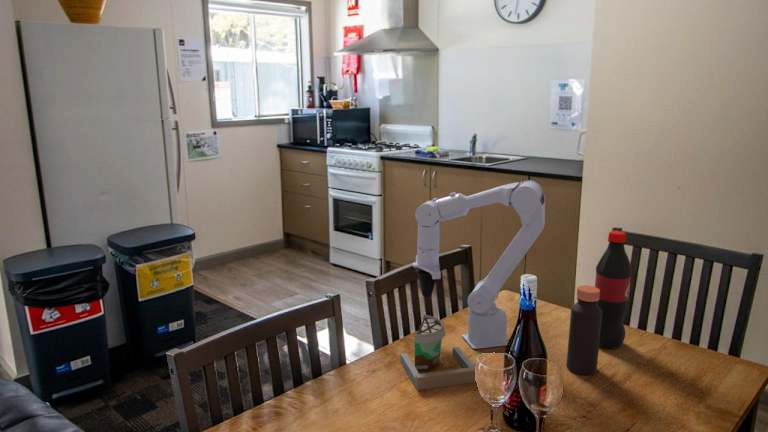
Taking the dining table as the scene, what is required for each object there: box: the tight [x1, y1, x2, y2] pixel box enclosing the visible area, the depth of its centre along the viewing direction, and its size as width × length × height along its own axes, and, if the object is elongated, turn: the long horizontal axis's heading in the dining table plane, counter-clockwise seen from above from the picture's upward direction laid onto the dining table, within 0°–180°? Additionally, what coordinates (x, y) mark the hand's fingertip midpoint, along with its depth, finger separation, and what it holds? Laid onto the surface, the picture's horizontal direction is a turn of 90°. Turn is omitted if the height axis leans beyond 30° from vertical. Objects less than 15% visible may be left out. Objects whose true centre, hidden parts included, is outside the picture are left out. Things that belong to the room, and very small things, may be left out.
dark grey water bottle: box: [566, 284, 602, 376], centre depth 129 cm, size 7×7×20 cm
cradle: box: [399, 346, 476, 391], centre depth 129 cm, size 15×14×3 cm
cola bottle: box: [594, 230, 633, 349], centre depth 140 cm, size 8×8×30 cm
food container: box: [413, 314, 446, 373], centre depth 132 cm, size 12×6×10 cm, turn 166°
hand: (426, 295), depth 148 cm, fingers closed
